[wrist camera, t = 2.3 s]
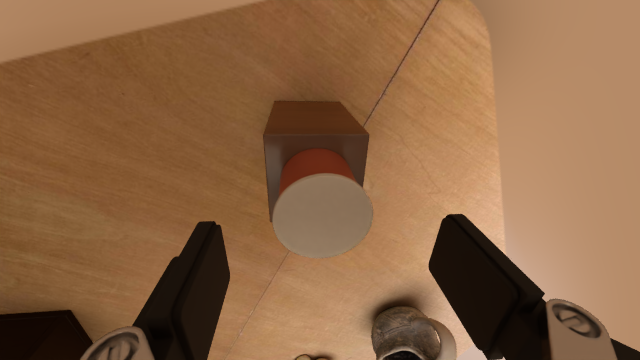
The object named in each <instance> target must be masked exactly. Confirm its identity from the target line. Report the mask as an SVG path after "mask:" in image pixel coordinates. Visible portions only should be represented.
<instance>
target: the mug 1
mask: <svg viewBox="0 0 640 360" xmlns="http://www.w3.org/2000/svg"><path fill="white" fill-rule="evenodd" d="M296 360H311V359H310V358H309V357H308V356H307V355H303V356H300V357H298V358H297V359H296ZM317 360H327V359H324V358H319V359H317Z"/></svg>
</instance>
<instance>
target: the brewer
mask: <svg viewBox="0 0 640 360" xmlns="http://www.w3.org/2000/svg"><path fill="white" fill-rule="evenodd" d="M92 345H93V343H92V342H91V340H90V339H89V337H88V336H87V334H86V333H85V331H84V330H83V328H82V327H81V325H80V324H79V322H78V321H77V320H76V318H75V317H74V315H73V314H72V312H71V311H70V310H67V311H52V312H37V313H22V314H8V315H0V360H80V359H81V357H82V356H83V355H84V353H85V352H86V351H87V350H88V348H89V347H91V346H92Z"/></svg>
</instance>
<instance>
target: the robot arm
mask: <svg viewBox="0 0 640 360" xmlns="http://www.w3.org/2000/svg"><path fill="white" fill-rule="evenodd" d="M429 270H430V272H431V274H432V275H433V277H434V279H435V280H436V282H437V284H438V285H439V287H440V288H441V290H442V292H443V293H444V295H445V297H446V298H447V300H448V302H449V303H450V305H451V306H452V308H453V310H454V311H455V313H456V315H457V316H458V318H459V320H460V321H461V323H462V324H463V326H464V328H465V329H466V331H467V333H468V334H469V336H470V337H471V339H472V341H473V342H474V344H475V345H476V347H477V348H478V349H479V350H482V351H483V353H484V355H485V356H486V358H487V360H497V359H502V358H503V357H504V358H505V359H506V360H640V352H639V351H637V350H635V349H632V348H630V347H628V346H626V345H624V344H622V343H620V342H618V341H616V340H613V339H611V338H610V337H609V334H608V332H607V330H606V329H605V327H604V325H603V324H602V323H601V322H600V321H599V320H598V319H597V318H596V317H594V316H593V315H592V314H591V313H589V312H588V311H587V310H584V309H583V308H582V307H580V306H578V305H576V304H574V303H572V302H568V301H565V300H561V299H551V300H549V301H548V302H545V301H544V300H543V299H542V297H543V295H544V294H545V293H544V292H543V291H542V290H541V289H540V288H539V287H538V286H537V285H536V284H534V282H533V281H531V280H530V279H529V278H528V277H527V276H526V275H525V274H524V273H523V272H522V271H521V270H520V269H519V268H518V267H517V266H516V265H515V264H514V263H513V262H512V261H511V260H510V259H509V258H508V257H507V256H506V255H505V254H504V253H503V252H502V251H501V250H500V249H499V248H497V247H496V246H495V245H494V244H493V243H492V242H491V241H490V240H489V239H488V238H487V237H486V236H485V235H484V234H483V233H482V232H481V231H480V230H479V229H478V228H477V227H476V226H475V225H474V224H473V223H472V222H471V221H470V220H469V219H468V218H467V217H466V216H464V215H463V214H449V215H447V216H446V218H444V219H443V220H442V222H441V226H440V229H439V232H438V235H437V238H436V242H435V245H434V248H433V251H432V254H431V258H430V261H429ZM229 280H230V271H229V266H228V261H227V256H226V250H225V245H224V240H223V235H222V230H221V226H220V225H216V223H215V222H214V221H206V222H199V223H198V224H197V226H196V227H195V229H194V231H193V233H192V234H191V236H190V238H189V240H188V241H187V243H186V245H185V247H184V249H183V250H182V252H181V254H180V256H179V257H174V258H173V259H172V260H171V262H170V263H169V265H168V267H167V268H166V270H165V272H164V273H163V275H162V277H161V278H160V280H159V282H158V283H157V285H156V287H155V288H154V290H153V292H152V293H151V295H150V297H149V298H148V300H147V302H146V304H145V305H144V307H143V309H142V310H141V312H140V314H139V315H138V317H137V319H136V320H135V322H134V324H133V325H132V326H127V327H123V328H119V329H116V330H114V331H112V332H109V333H107V334H106V335H104V336H103V337H101V338H100V339H98V340H97V341H96V342H95V343H94V344H93V345H92V346H91V347H89V348H88V350H87V351H86V352H85V353H84V355H83V356H82V357H81V359H80V360H207V358H208V354H209V351H210V347H211V344H212V340H213V337H214V333H215V330H216V326H217V323H218V319H219V316H220V312H221V309H222V305H223V302H224V298H225V295H226V291H227V288H228V284H229Z"/></svg>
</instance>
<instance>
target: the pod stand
mask: <svg viewBox="0 0 640 360" xmlns="http://www.w3.org/2000/svg"><path fill="white" fill-rule="evenodd" d="M263 139H264V151H265V164H266V177H267V189H268V202H269V214H270V222H272V217H273V210H274V206H275V204H276V202H277V200H278V198H279V188H280V178H281V173H282V170H283V168H284V166H285V165H286V163H287V162H288V161H289V160H290V159H291V158H292V157H293V156H294V155H296V154H298V153H300V152H302V151H304V150H307V149H313V148H323V149H328V150H331V151H333V152H335V153H337V154H339V155H340V156H341V157H342V158H343V159H344V160H345V161H346V162H347V164H348V165H349V167H350V169H351V171H352V174H353V176H354V178H355V180H356V182H357V183H358V184H359V185H360V186H361V187H362V188H363V182H364V174H365V166H366V158H367V150H368V142H369V133H368V132H367V131H366V130H365V129H364V128H363V127H362V126H361V125H360V123H359V122H358V121H357V120H356V119H355V118H354V117H353V116H352V115H351V114H350V113H349V111H348V110H347V109H346V108H345V107H344V106H343V105H342V104H341V103H340V102H313V101H274V104H273V107H272V110H271V113H270V116H269V119H268V122H267V125H266V128H265V131H264V134H263Z"/></svg>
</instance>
